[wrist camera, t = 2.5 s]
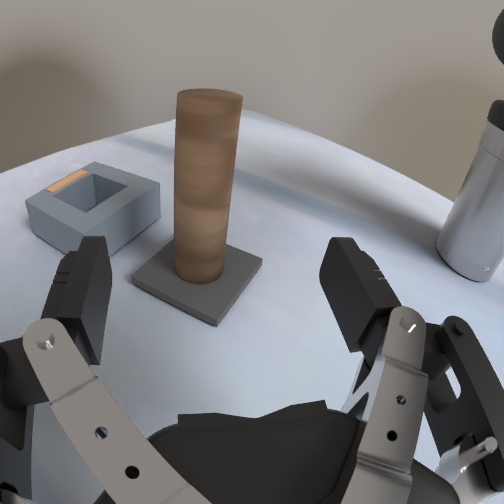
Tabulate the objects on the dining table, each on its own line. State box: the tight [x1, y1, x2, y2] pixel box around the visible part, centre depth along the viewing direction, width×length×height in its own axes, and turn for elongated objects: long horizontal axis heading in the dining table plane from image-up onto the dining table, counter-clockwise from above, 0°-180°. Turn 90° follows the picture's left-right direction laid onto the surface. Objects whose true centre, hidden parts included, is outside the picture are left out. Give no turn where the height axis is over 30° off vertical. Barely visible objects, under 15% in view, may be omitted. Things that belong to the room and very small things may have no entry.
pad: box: [131, 239, 263, 327], centre depth 27 cm, size 8×8×1 cm
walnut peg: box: [174, 89, 243, 285], centre depth 22 cm, size 4×4×14 cm
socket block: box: [25, 162, 161, 257], centre depth 29 cm, size 10×10×4 cm
